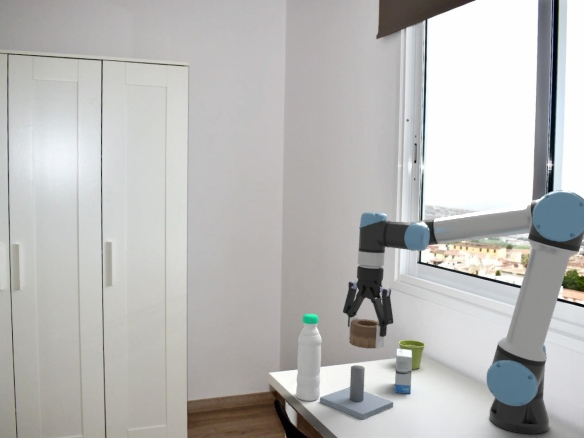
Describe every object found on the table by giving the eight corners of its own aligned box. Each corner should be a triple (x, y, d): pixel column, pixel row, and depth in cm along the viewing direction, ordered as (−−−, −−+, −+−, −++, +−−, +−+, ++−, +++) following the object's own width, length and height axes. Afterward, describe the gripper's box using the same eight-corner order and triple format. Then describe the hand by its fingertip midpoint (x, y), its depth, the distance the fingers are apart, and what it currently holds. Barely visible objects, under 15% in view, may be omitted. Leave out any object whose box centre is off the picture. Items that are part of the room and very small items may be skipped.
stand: (393, 406, 160) (394, 369, 159) (362, 419, 150) (364, 380, 150) (350, 391, 171) (352, 356, 171) (319, 402, 162) (321, 365, 161)
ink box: (410, 394, 171) (412, 357, 170) (394, 392, 172) (396, 355, 171) (410, 385, 179) (412, 349, 178) (395, 383, 180) (396, 348, 179)
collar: (388, 345, 159) (389, 324, 159) (368, 350, 153) (369, 329, 153) (363, 337, 166) (364, 317, 166) (343, 342, 160) (344, 321, 159)
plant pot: (397, 370, 194) (398, 345, 194) (397, 362, 203) (398, 339, 203) (425, 372, 192) (426, 347, 192) (423, 364, 202) (424, 340, 201)
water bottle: (324, 397, 165) (327, 315, 164) (308, 403, 160) (311, 318, 159) (306, 391, 170) (309, 311, 169) (291, 397, 165) (294, 314, 164)
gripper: (410, 271, 153) (404, 350, 154) (349, 260, 169) (345, 332, 170) (394, 272, 148) (388, 355, 149) (333, 261, 163) (329, 336, 165)
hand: (365, 342), depth 159 cm, fingers closed on collar, 9 cm apart
